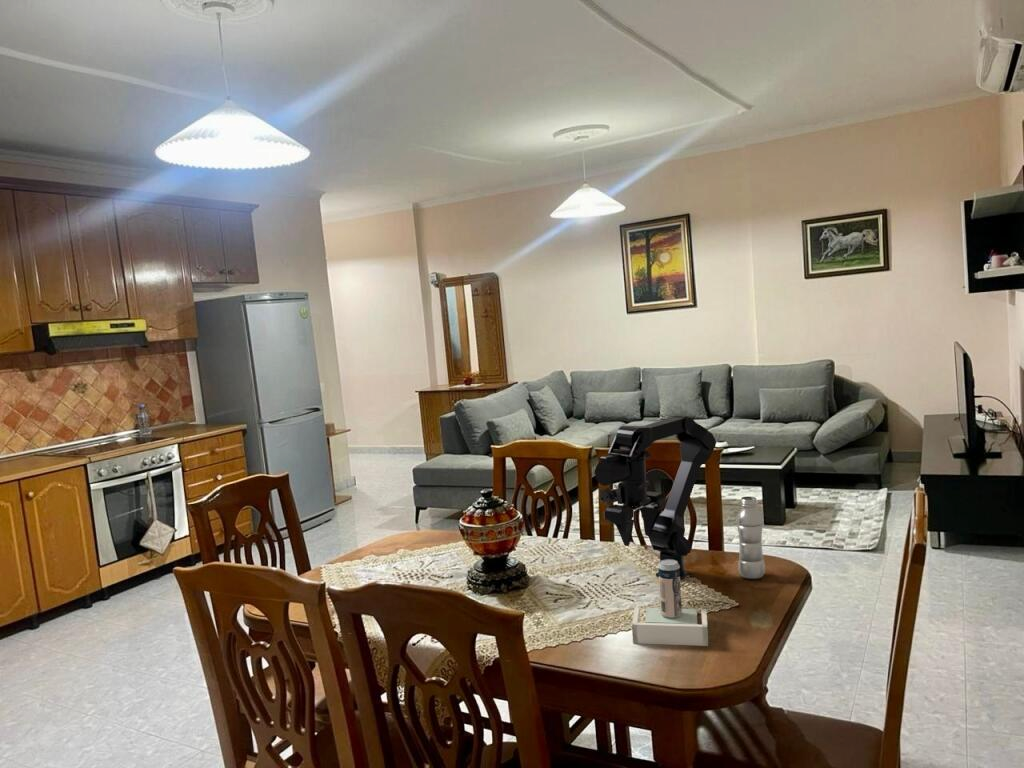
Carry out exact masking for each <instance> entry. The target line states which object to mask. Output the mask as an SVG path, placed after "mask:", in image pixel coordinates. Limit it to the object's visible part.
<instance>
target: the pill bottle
mask: <svg viewBox="0 0 1024 768" xmlns="http://www.w3.org/2000/svg"><path fill="white" fill-rule="evenodd" d="M657 570H658V572H657V573H658V574H659V576H658V588H659V608H660V614H661V615H663V616H664V617H666V618H677V617H679V616H680V615H682V609H683V608H682V590H681V588H682V587H681V579H680V565H679V564H678V562H677V561H676V560H672V559H665V560H661V561H660V560H659V563H658V564H657Z"/></svg>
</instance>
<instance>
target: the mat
mask: <svg viewBox="0 0 1024 768" xmlns="http://www.w3.org/2000/svg"><path fill="white" fill-rule="evenodd" d="M645 611H646V613H645V620H644V623H666V624H698V610H697V608H682V615H680V616H679V617H677V618H666V617H664V616H663V615H661V614H660V607H646V610H645Z"/></svg>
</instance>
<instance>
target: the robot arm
mask: <svg viewBox="0 0 1024 768" xmlns="http://www.w3.org/2000/svg"><path fill="white" fill-rule="evenodd" d="M672 436H675V439H676V440H678V442H679V443H680V445H679V451H680V452H679V453H680V457H681V461H680V465H679V467H678V470H677V472H676V475H675V479H674V481H673V483H672V487H671V490H670V492H669V496H668V497H666V496H665V494H663V493H662V492H655V491H647V489H648V487H649V486H650V485H651V481H649V480H647V474H646V473H647V472H646V459H647V458H650V457H652V454H651V453H650V452H649V451H647V449H649V448H651V446H652V445H653V444H654V443H655V442H656V441H659V440H663V439H666V438H668V437H672ZM716 444H717V441H716V438H715V437H714V434H713V433H712V432H711V431H709V430H708V429H707V428H705V427H704V426H703V425H700V424H699V423H697V422H696V421H695V420H694V419H693V418H692V417H690V416H689V415H688V416H687V415H677V414H676V415H674V416H672V417H669V418H665V419H662V420H658V421H655V422H652V423H648V424H646V425H621V426H619V427H618V428H617V432H616V434H615V436H614V438H613V440H612V442H611V445H610V447H609V450H608V452H607V455H603V456H600V458H599V461H600V462H597V464H596V466H595V469H594V475H595V476H594V477H595V479H596V481H597V482H598V483H599V484H600V486H603V487H606V488H603V489H600V490H599V500H600V501H601V503H605V506H607V507H606V508H604V509H603V518H604V520H606V521H608V522H609V523H613V525H614V526H615V527H616V529H617V531H618V533H619V535H620V539H621V540H622V544H623V545H624V546H625V547H630V543H631V540H632V533H633V530H634V524H635V519H633V518H634V516H635V513H634V512H635V511H637V510H639V512H641V515H642V521H643V529H644V534H645V536H646V537H648V538H649V542H650V544H651V548H652V550H653V551H656V552H659V562H660V561H661V560H665V559H672V560H676V561H677V562H678V564H679V565H680V580H681V579H682V578H684V577H686V576H687V575H690V573H691V571H690V570H685V557H686V556H688V554H690V553H691V550H692V543H691V542H690V541H689V540H688V539H687V538H686V537H685V532H686V527H685V523H684V522H685V521H684V516H685V513H686V510H687V507H688V504H689V501H690V499H691V495H692V491H693V489H694V487H695V484H696V480H697V477H698V476H699V472H700V469H701V467H702V465H704V464H705V463H706V462H707V461H708V460H709V459H710V458H711V456H712V455H713V452H714V451H715V448H716ZM616 484H617V487H616V488H613V489H610V487H607V486H611V485H616ZM666 498H667V499H666ZM616 502H617V504H613V503H616ZM610 504H612V505H610ZM609 505H610V506H609ZM664 506H665V507H664ZM663 509H664V510H663ZM662 510H663V511H662ZM655 577H659V574H658V572H656V573H655Z"/></svg>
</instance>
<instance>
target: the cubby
mask: <svg viewBox="0 0 1024 768" xmlns="http://www.w3.org/2000/svg"><path fill="white" fill-rule="evenodd" d="M700 610H701V624H699V623H697V624H666V623H645V622H641V612H640V611H641V609H640V606H634V610H633V616H632V621H631V630H632V631H631V633H632V644H639V645H641V644H643V645H644V644H645V645H670V646H671V645H672V646H673V645H674V646H697V647H700V646H701V647H709V632H708V631H709V628H708V616H707V608H701V609H700Z"/></svg>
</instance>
